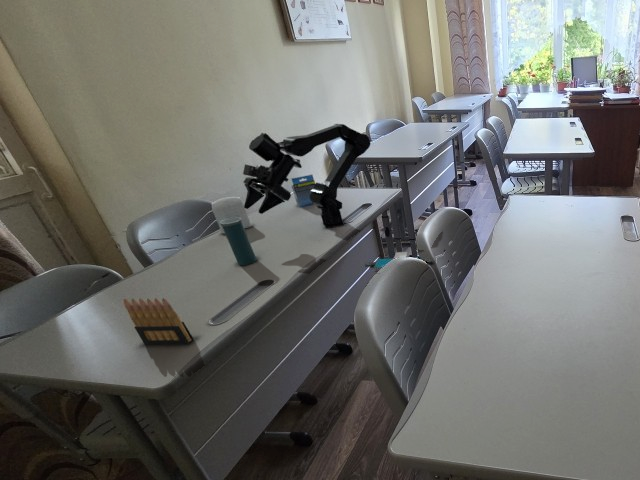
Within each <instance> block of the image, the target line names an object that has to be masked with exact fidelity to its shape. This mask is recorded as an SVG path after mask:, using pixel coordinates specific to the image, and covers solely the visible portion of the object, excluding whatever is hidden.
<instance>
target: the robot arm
mask: <svg viewBox="0 0 640 480" xmlns="http://www.w3.org/2000/svg"><path fill="white" fill-rule="evenodd" d="M339 138H340V139H341V140H342V141H343V142H344V150H343V152H342V154H341V155H340V157H339V159H338V160H337V162H336V163H335V165H334V166H333V168H332V169H331V170H330V172H329V174H328V176H327V177H326V178H325V180H324V181H323V182H322V183H321V182H315V185H314V188H313V189H312V190H311V191H310V192H311V194H310V200H311V202H312V203H313V204H312V205H314V206H316V207H317V209H320V211H321V212H320V219H321V221H322V224H323V226H325V229H329V228H335V227H339V226H344V225H345V223H344V220H343V217H342V213H341V210H342V209H343V201H342V202H341V201H340V200H338V199H337V198H338V188H339V187H340V185H341V183H342V182H343V181H344V179H345V178H346V175H347V174H348V172H349V171H350V170H351V168H352V166H353V164H354V163H355V161H356V160H357V158H359V157H360V156H362V155H364V154H365V153H366V152H367V150H369V148H370V147H371V144H372V143H371V139H370V137H369V136H368V135H367V134H366V133H361V132H359V131H357V130H355V129H353V128H351V127H349V126H348V125H346V124H344V123H334V124H333V125H331V126H327V127H325V128H323V129H320V130H316V131H314V132H311V133H308V134H305V135H304V134H303V135H294V136H292V135H291V136H287V137H284V138H283V140H282V141H278V142H276V141H275V140H274V139H273V138H271V136H270V135H269V134H267V133H266V132H261V133H260V134H259V135H258V136H256V137H255V138H254V139H252V140H251V141H250V143H249V147H248V149H249V150H250V151H252V152H253V153H255V154H256V155H257V156H259V157H260V158H261V159H263V161H265V162H270V161H271V163H270V165H269V166H266V165H262V164H257V165H256V166H254V165H250V164H244V167H243V172H242V175H244V176H248V177H245V179H244V180H243V184H244V187H245V189H246V191H247V192H246V197H245V200H244V208H246V210H249V208H251V207H252V206H253V205H255V204H256V203H257V202H258V201H260V200H261V199H263V198H264V199H263V201H262V202H261V205H260V207H259V209H258V210H257V211H258V213H259V214H261V215H263V214H265V213H266V212H267V211H269V210H271V209H273V208H275V207H276V206H278V205H280V204H282V203H285V202H289V200H290V199H291V198H292V194H291V192H290V191H289V190H288V189H286V188H285V187H283V186H282V185H283V184H284V182H287V183H288V182H289V180H290V179H289V178H288V177H289V175H290V173H291V172H292V170H293V168H298V169H302V168H303V167H302V163H301V160H300V158H299V159H298V158H295V157H305V156H306V155H307V154H309V153H311V152H312V151H313V149H314V148H316V147H319V146H320V145H323V144H326V143H328V142H331V141H334V140H337V139H339ZM284 152H285V153H284ZM293 156H294V157H293Z"/></svg>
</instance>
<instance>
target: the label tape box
mask: <svg viewBox="0 0 640 480" xmlns="http://www.w3.org/2000/svg"><path fill="white" fill-rule="evenodd" d="M290 179H291V181H292V185H291V189H292V193H293V195H294V199H295V202H296V205H297V206H298V207H300V208H301V207H305V206H308V205H314V204H313V203H312V202H311V200H310V194H311V192H310V191H311V190H312V189H313V188H314V185H315V184H316V181H315V179H314V175H313V174H308V175H303V176H298V177H293V178H290Z"/></svg>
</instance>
